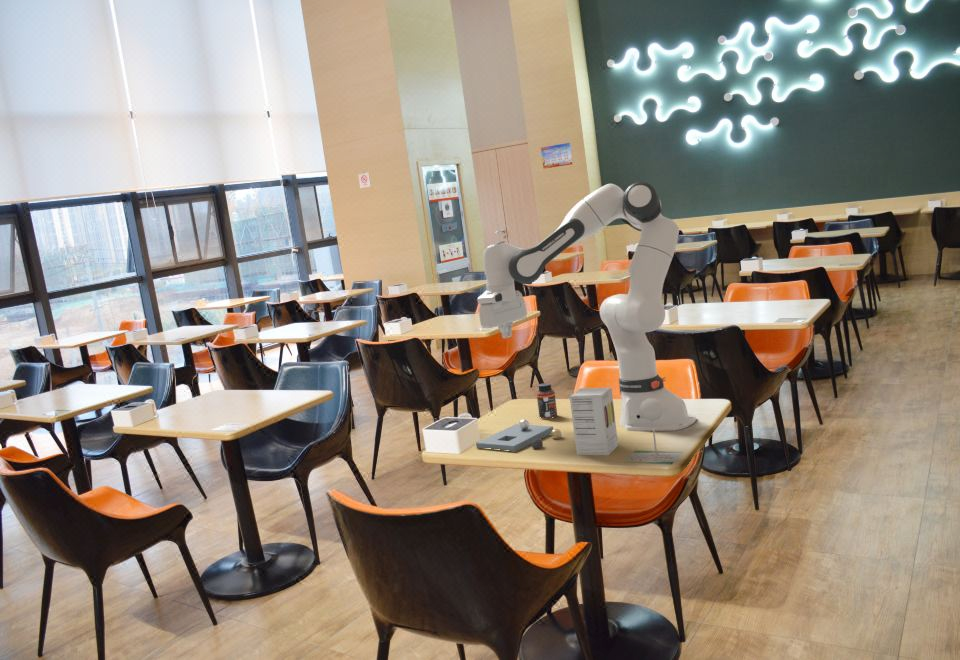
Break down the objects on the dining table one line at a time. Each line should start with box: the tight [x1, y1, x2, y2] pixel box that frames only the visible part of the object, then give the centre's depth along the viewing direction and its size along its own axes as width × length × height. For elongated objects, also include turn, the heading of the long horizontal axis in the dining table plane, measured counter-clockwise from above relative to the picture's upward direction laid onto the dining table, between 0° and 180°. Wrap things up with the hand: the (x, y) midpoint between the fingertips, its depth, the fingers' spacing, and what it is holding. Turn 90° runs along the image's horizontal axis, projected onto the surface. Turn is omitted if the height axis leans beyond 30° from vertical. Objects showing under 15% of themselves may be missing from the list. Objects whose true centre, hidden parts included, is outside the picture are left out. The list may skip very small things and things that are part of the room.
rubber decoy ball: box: [531, 439, 544, 450], centre depth 227 cm, size 3×3×3 cm
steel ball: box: [518, 419, 530, 430], centre depth 240 cm, size 3×3×3 cm
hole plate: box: [475, 423, 554, 452], centre depth 237 cm, size 20×14×2 cm
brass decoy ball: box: [550, 428, 563, 440], centre depth 234 cm, size 3×3×3 cm
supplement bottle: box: [536, 382, 558, 419], centre depth 260 cm, size 6×6×11 cm
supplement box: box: [569, 386, 619, 456], centre depth 217 cm, size 10×9×17 cm
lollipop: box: [639, 398, 663, 455], centre depth 207 cm, size 6×6×15 cm
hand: (507, 337), depth 252 cm, fingers closed
